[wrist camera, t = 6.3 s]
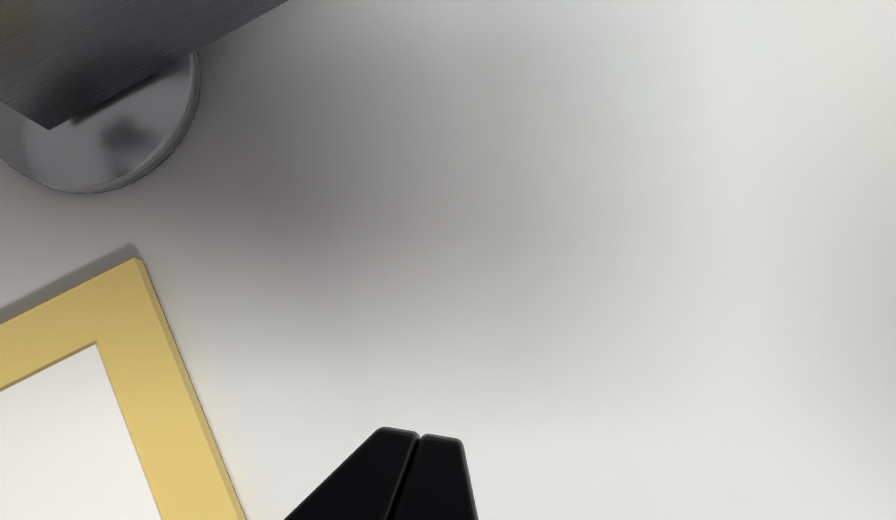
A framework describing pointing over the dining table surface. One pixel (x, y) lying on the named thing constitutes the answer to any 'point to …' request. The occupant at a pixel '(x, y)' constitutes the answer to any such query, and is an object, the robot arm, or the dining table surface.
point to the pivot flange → (107, 134)
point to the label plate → (104, 412)
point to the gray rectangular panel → (101, 47)
